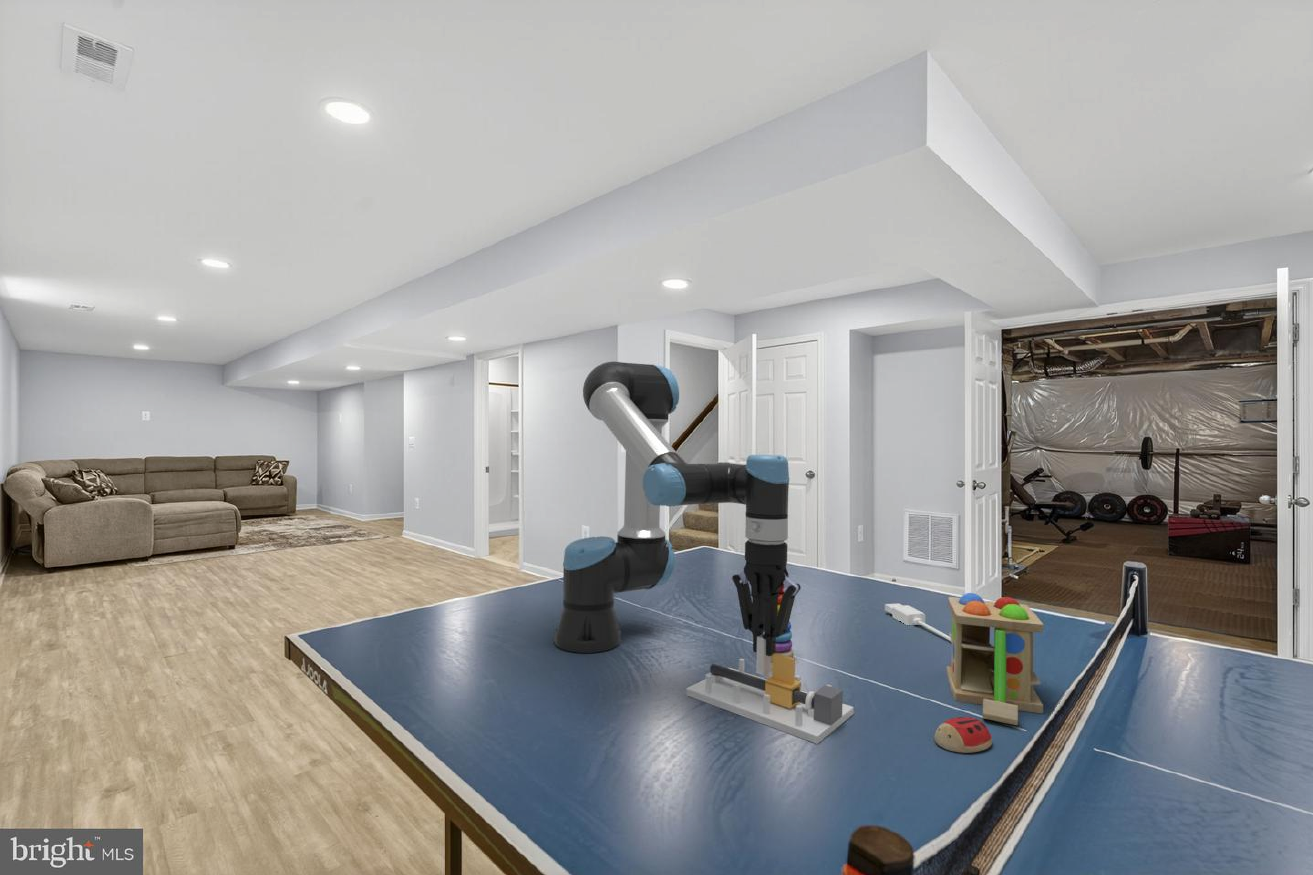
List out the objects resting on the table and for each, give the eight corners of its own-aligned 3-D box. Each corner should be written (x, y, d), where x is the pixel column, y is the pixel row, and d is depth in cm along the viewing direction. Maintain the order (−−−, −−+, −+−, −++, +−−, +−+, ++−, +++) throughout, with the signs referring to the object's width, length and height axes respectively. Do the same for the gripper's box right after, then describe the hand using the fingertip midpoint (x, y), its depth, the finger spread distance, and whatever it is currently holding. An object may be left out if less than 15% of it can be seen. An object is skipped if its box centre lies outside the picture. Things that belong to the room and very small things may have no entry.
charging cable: (966, 661, 135) (967, 646, 134) (883, 613, 166) (883, 601, 166) (986, 660, 136) (986, 645, 135) (899, 612, 167) (900, 600, 167)
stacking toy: (793, 664, 127) (795, 575, 127) (755, 661, 129) (757, 573, 129) (793, 651, 135) (794, 568, 135) (756, 648, 137) (758, 565, 137)
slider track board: (685, 694, 111) (686, 664, 111) (728, 673, 122) (729, 645, 122) (817, 744, 94) (818, 708, 94) (853, 713, 105) (854, 681, 105)
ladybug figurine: (923, 739, 97) (923, 717, 97) (967, 729, 101) (967, 707, 101) (959, 760, 91) (959, 737, 91) (1004, 748, 95) (1004, 725, 95)
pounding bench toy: (1056, 737, 99) (1059, 627, 98) (959, 721, 103) (961, 616, 103) (1025, 683, 120) (1027, 593, 120) (946, 672, 125) (947, 586, 125)
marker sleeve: (765, 699, 107) (766, 655, 106) (775, 693, 109) (776, 649, 109) (790, 708, 103) (791, 662, 103) (800, 701, 106) (801, 656, 106)
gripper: (724, 538, 110) (721, 668, 110) (788, 548, 102) (786, 688, 102) (746, 534, 116) (744, 657, 116) (809, 542, 107) (806, 675, 107)
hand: (763, 671), depth 109 cm, fingers closed
